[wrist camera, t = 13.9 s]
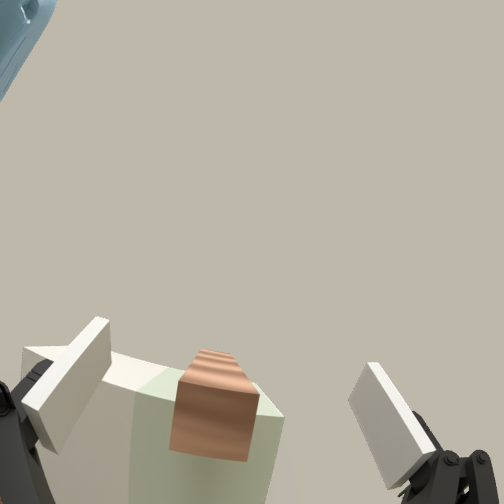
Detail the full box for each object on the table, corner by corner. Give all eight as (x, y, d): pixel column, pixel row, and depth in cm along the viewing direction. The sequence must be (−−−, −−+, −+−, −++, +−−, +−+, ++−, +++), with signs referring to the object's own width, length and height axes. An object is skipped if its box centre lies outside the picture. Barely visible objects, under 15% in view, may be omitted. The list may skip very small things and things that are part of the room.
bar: (246, 462, 11) (260, 394, 12) (168, 449, 11) (178, 380, 12) (225, 380, 36) (230, 353, 37) (197, 375, 36) (202, 348, 37)
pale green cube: (236, 591, 12) (284, 417, 21) (43, 537, 10) (23, 346, 19) (226, 526, 29) (255, 382, 38) (84, 491, 27) (90, 344, 36)
